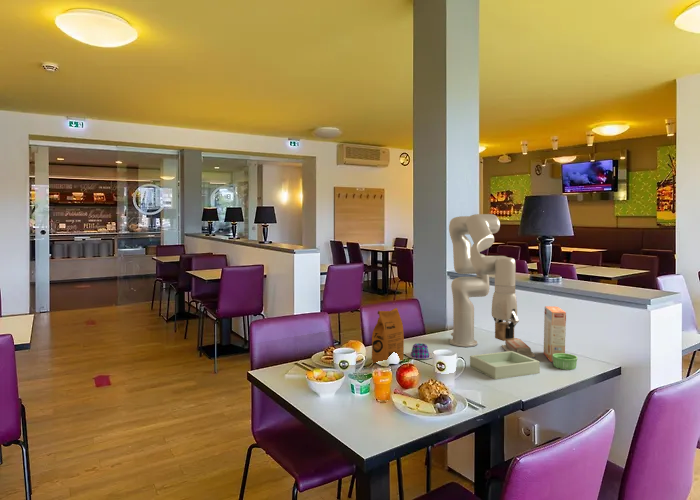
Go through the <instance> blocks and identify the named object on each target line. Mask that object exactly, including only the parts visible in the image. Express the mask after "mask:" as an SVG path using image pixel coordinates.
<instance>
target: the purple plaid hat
mask: <svg viewBox="0 0 700 500" xmlns="http://www.w3.org/2000/svg"><path fill="white" fill-rule="evenodd" d="M432 354H433V353H432V352H429V348H428V345H427V344H426V343H421V342H420V343H419V342H418V343H414V344H413V345H412V348H411V351H408V352H407V353H406V354H405V356H406V357H408V358H411V359H416V360H428V359H432V358H433V357H432Z"/></svg>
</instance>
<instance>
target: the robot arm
mask: <svg viewBox="0 0 700 500" xmlns="http://www.w3.org/2000/svg"><path fill="white" fill-rule="evenodd" d="M500 227H501V222H500V219H499V218H498V216H497V215H495V214H491V213H479V214H478V213H475V214H471V215H465V216H463V215H462V216H460V215H459V216H456V217H453V218H451V219H450V221H449V224H448V232H449V237H450V240H451V243H452V251H453V252H452V253H453V255H452V257H453V268H454V272H455V273H456V274H458V275H459V274H460V275H474V274H475V275H476V276H458V277H455V278H454V279H453V280H451V286H450V287H451V293H452V294H451V295H452V301H453V303H452V304H453V306H452V307H453V310H452V311H453V313H452V315H453V316H452V317H453V319H452V321H453V328H452V329H453V332H450V335H451V337H452V338H451V339H450V340H449V343H450V345H452V346H456V347H463V348H465V347H467V348H468V347H475V346H477V345H478V341H477V340H476V339H475V307H474V304H473V302H472V301H471V299H470V298H482V297H486V296H488V294H489V293H490V276H494V292H493V293H492V294H493V295H492V300H491V301H492V302H491V317H492V319H493V320H494V324H495V323H499V322H506V326H507V328H506V339H511V338H513V328H514V329H515V327H516V325H517V324H518V323H519V322H520V320H519V318H518V304H517V303H518V301H517V296H516V295H517V294H516V269H517V268H516V260H515V258H513V257H508V256H506V255H485V254H483V253H481V252H484V251H485V250H488V249H489V248H490V247H492V245H494V243H495V236H494V235H493V234H496V233H498V232H499V231H500ZM467 235H469V236H470V239H471V240H472V242H473V243H471V241H470V239H469V238H468V237H467ZM509 323H510V324H509Z"/></svg>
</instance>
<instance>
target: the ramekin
mask: <svg viewBox="0 0 700 500" xmlns="http://www.w3.org/2000/svg"><path fill="white" fill-rule="evenodd" d="M552 363H553V367H555V368H557V369H559V368H560V369H559V370H568V371H569V370H575V369H576V368H577V363H578V356H577V355H574V354H571V353H566V352H565V353H555V354H553V362H552Z"/></svg>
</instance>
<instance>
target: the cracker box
mask: <svg viewBox="0 0 700 500" xmlns="http://www.w3.org/2000/svg"><path fill="white" fill-rule="evenodd" d="M543 313H544V314H543V315H544V319H543V322H544V323H543V327H544V328H543V354H544V356H545V357H546V358H547V360H548V361H549V362H551V363H553V354H555V353H566V329H567V328H566V327H567V325H566V324H567V311H565V310H563V309H562V308H561V307H559V306H552V305H551V306H544V311H543Z"/></svg>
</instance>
